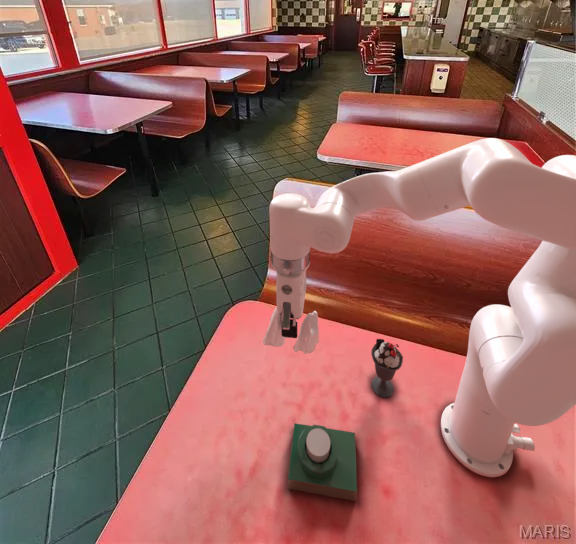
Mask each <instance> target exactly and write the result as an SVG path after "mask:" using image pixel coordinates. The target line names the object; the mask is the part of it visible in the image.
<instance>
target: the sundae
mask: <svg viewBox="0 0 576 544" xmlns="http://www.w3.org/2000/svg"><path fill="white" fill-rule="evenodd" d="M398 348H400V346H399V344H398V343H396V344H393V343H392V342H388V341H385V339H383V338H376V340H375V343H374V344H373V347H372V348H371V351H370V352H371V358H372V361H373V363H374V369H375V373H376V376H375V377H374V378H373V379H372V380H371V388H372V391H373V393H375V394H376V395H377V396H379V397H380V398H384V399H387V398H390V397H392V396H393V394H394V391H395V389H394V388H395V387H394V384H393V382H392V380H393V378H394V377H395V375H396V372H397V371H398V370H399V369H401V368H402V365H403V363H404V360H403V359H404V356H403V354H402V353H401V351H400V350H399V349H398Z"/></svg>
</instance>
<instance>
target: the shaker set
mask: <svg viewBox="0 0 576 544" xmlns="http://www.w3.org/2000/svg"><path fill="white" fill-rule="evenodd" d="M281 321H282V315H281V316H279V315H278V313H277V306H276V307H275V309H274V310H273V311H272V313H271V316H270V319H269V325H268V326H267V329H266V332H265V334H264V337H263V339H262V344H263V345H264V346H270V347H276V348H277V347H282V346H284V345H285V343H286V339H288V337H283V336H282V328H281ZM300 324H301V325H300V328H299V333H298V335H297V338H296V341H295V343H294V346H293V351H294V352H295V353H297V352H299V351H300V352H302V353H303V354H304V355H308V354H312V353H313V352H315V351H316V346H317V345H318V344H319V343H320V329H319V325H320V324H319V315H318V311H316V310H314V311H312V312H309V313H307V315H306V316H305V318H304V319H303V321H302V322H301V323H300Z"/></svg>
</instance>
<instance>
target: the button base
mask: <svg viewBox="0 0 576 544" xmlns="http://www.w3.org/2000/svg"><path fill="white" fill-rule="evenodd" d="M316 428H319V429H322V430H324V431H325V432H326V433H327V434H328V436H329V438H330V454H329V457H328V458H327V460H326V461H324V462H322V463H316V462H314V461H312V460H311V459H310V458H309V456H308V454H307V451H306V439H307V435H308V434H309V432H310V431H311V430H313V429H316ZM291 440H292V441H291V449H290V458H289V467H288V475H287V489H288V490H294V491H300V492H305V493H311V494H315V495H321V496H326V497H331V498H336V499H337V498H338V499H341V500H342V499H343V500H348V501H353V502H356V501H357V495H358V480H357V451H356V449H357V448H356V433H355V432H352V431H346V430H340V429H335V428H328V427H326V426H324V425H319V424H312V425H308V424H303V423H297V422H296V423H295V422H294V424H293V433H292V439H291Z"/></svg>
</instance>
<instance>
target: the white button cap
mask: <svg viewBox="0 0 576 544" xmlns="http://www.w3.org/2000/svg"><path fill="white" fill-rule="evenodd" d="M306 451H307V454H308V456H309V458H310V459H311V460H312V461H314V462H316V463H322V462H324V461H326V460H327V458H328V457H329V454H330V438H329V436H328V434H327V433H326V432H325V431H324V430H322V429H319V428H316V429H313V430H311V431H310V432H309V434H308V435H307V439H306Z"/></svg>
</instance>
